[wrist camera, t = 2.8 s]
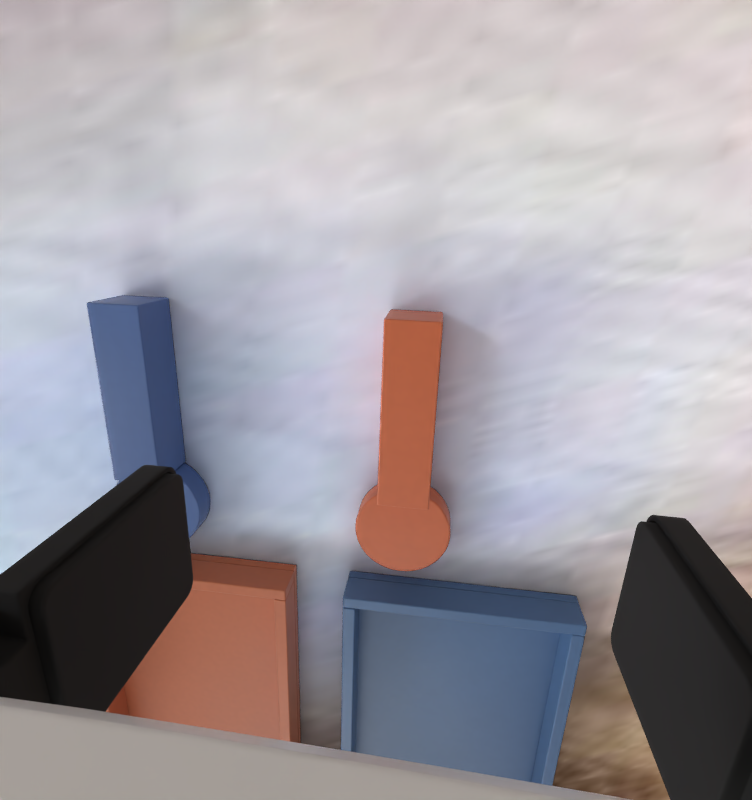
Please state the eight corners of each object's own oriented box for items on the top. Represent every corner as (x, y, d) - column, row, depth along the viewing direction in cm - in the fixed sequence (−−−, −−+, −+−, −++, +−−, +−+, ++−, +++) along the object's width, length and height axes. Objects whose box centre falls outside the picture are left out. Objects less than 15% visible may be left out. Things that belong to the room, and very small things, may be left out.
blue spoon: (99, 293, 22) (60, 301, 20) (192, 298, 22) (163, 306, 19) (134, 527, 26) (105, 555, 24) (213, 536, 26) (192, 565, 23)
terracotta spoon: (364, 307, 21) (354, 317, 19) (469, 313, 20) (473, 323, 18) (358, 551, 25) (349, 583, 23) (446, 560, 24) (446, 594, 22)
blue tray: (350, 570, 25) (342, 597, 23) (576, 595, 24) (587, 626, 22) (345, 798, 31) (339, 834, 29) (528, 827, 30) (534, 867, 28)
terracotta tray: (95, 542, 27) (69, 565, 25) (296, 564, 26) (285, 590, 24) (135, 764, 33) (117, 797, 31) (302, 791, 31) (293, 826, 29)
